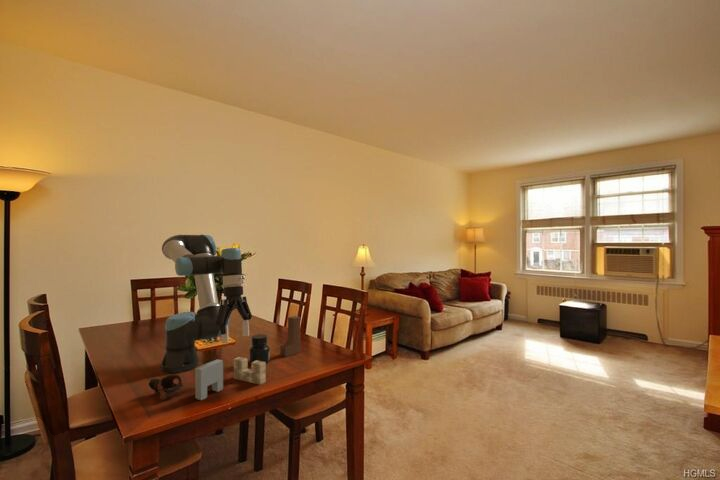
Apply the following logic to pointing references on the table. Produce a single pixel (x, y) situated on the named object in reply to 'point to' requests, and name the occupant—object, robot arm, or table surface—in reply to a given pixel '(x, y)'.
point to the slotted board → (250, 371)
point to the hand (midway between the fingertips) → (236, 339)
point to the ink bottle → (259, 349)
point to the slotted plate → (208, 378)
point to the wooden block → (292, 337)
